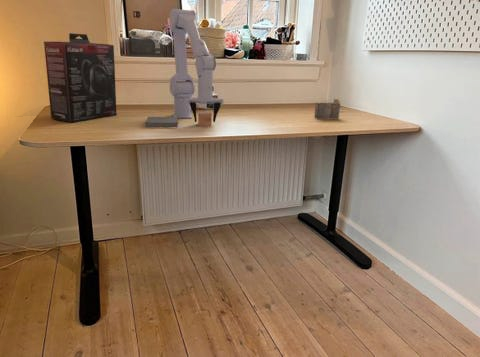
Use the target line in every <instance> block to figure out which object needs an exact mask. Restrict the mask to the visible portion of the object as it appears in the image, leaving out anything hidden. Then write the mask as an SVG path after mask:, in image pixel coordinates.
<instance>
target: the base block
mask: <svg viewBox="0 0 480 357" xmlns="http://www.w3.org/2000/svg"><path fill="white" fill-rule="evenodd" d="M178 119H179V118H178V117H173V116H147V118H146V120H145V128H146V127H177V128H178V125H177V124H179V123H178V121H179V120H178Z"/></svg>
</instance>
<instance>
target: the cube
mask: <svg viewBox="0 0 480 357" xmlns="http://www.w3.org/2000/svg"><path fill="white" fill-rule="evenodd" d="M212 115H213V113H212V112H210V111H198V127H210V126H211V127H212V122H213V116H212Z"/></svg>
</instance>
